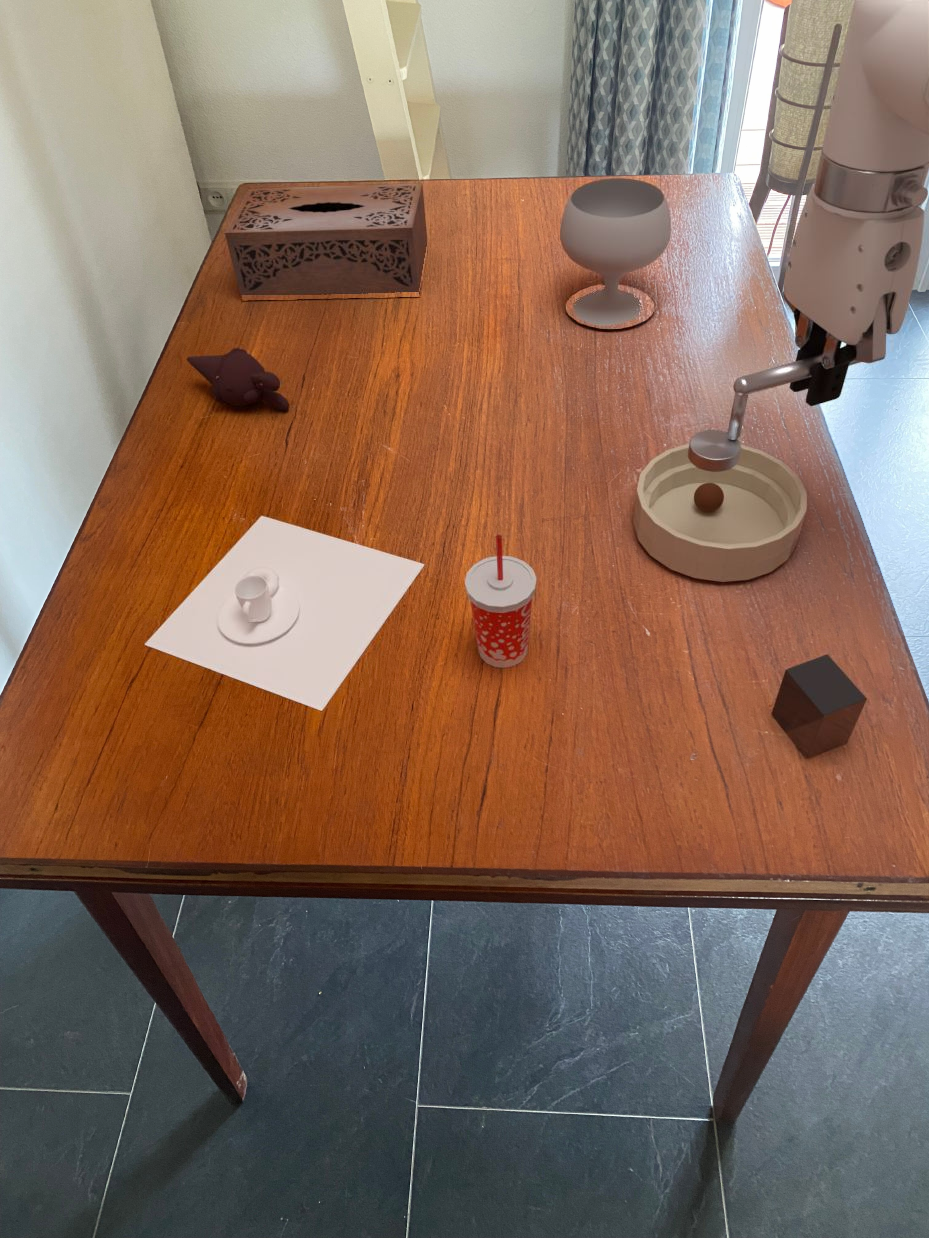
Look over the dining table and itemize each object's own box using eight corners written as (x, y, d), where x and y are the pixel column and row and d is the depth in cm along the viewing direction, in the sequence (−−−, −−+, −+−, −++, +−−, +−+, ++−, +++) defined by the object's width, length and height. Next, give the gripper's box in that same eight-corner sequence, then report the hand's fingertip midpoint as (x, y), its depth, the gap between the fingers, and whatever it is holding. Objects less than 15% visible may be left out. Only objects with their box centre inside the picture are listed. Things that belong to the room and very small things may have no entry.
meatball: (701, 479, 95) (724, 476, 92) (709, 505, 96) (733, 503, 93) (684, 491, 93) (707, 489, 91) (693, 517, 94) (716, 516, 92)
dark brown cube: (810, 698, 78) (827, 653, 74) (847, 742, 75) (867, 698, 70) (771, 713, 77) (785, 669, 73) (806, 759, 74) (823, 715, 70)
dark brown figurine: (158, 359, 109) (257, 399, 105) (195, 317, 112) (293, 354, 107) (180, 398, 115) (274, 437, 111) (214, 357, 118) (308, 394, 113)
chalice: (675, 329, 119) (689, 214, 108) (570, 342, 118) (574, 228, 107) (646, 278, 129) (656, 168, 117) (549, 290, 128) (550, 181, 117)
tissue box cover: (242, 301, 131) (224, 233, 123) (263, 254, 140) (248, 188, 133) (419, 297, 129) (412, 228, 121) (428, 250, 138) (422, 182, 131)
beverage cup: (506, 685, 81) (502, 574, 70) (456, 651, 84) (445, 540, 73) (550, 645, 84) (552, 533, 73) (500, 614, 87) (495, 502, 76)
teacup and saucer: (253, 572, 92) (244, 543, 89) (319, 594, 90) (312, 564, 87) (201, 632, 87) (190, 603, 84) (270, 656, 85) (261, 627, 82)
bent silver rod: (845, 400, 85) (867, 327, 80) (875, 425, 83) (900, 351, 77) (678, 449, 82) (688, 376, 76) (704, 477, 79) (716, 403, 73)
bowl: (738, 463, 100) (745, 426, 96) (829, 556, 89) (842, 518, 86) (606, 504, 96) (609, 467, 93) (685, 605, 86) (691, 568, 82)
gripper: (989, 208, 62) (909, 430, 76) (845, 134, 72) (797, 342, 86) (898, 231, 61) (832, 454, 74) (764, 152, 71) (728, 361, 84)
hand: (814, 392), depth 80 cm, fingers closed on bent silver rod
